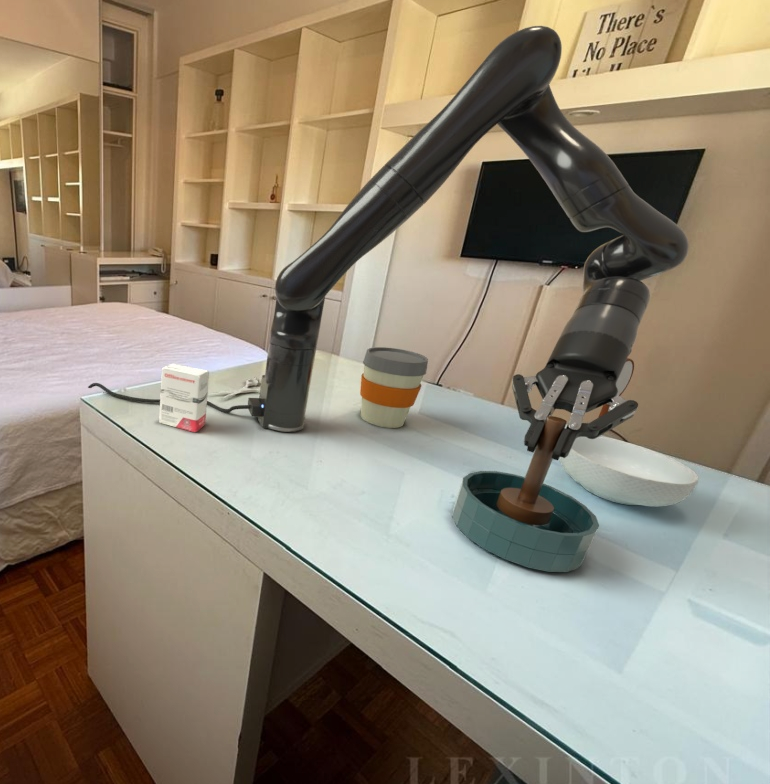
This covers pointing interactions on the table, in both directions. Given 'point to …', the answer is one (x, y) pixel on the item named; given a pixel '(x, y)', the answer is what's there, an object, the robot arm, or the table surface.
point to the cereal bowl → (628, 472)
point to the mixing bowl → (524, 524)
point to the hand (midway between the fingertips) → (543, 452)
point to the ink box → (183, 397)
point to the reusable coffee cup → (390, 385)
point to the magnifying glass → (621, 382)
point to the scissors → (243, 388)
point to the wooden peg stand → (534, 480)
